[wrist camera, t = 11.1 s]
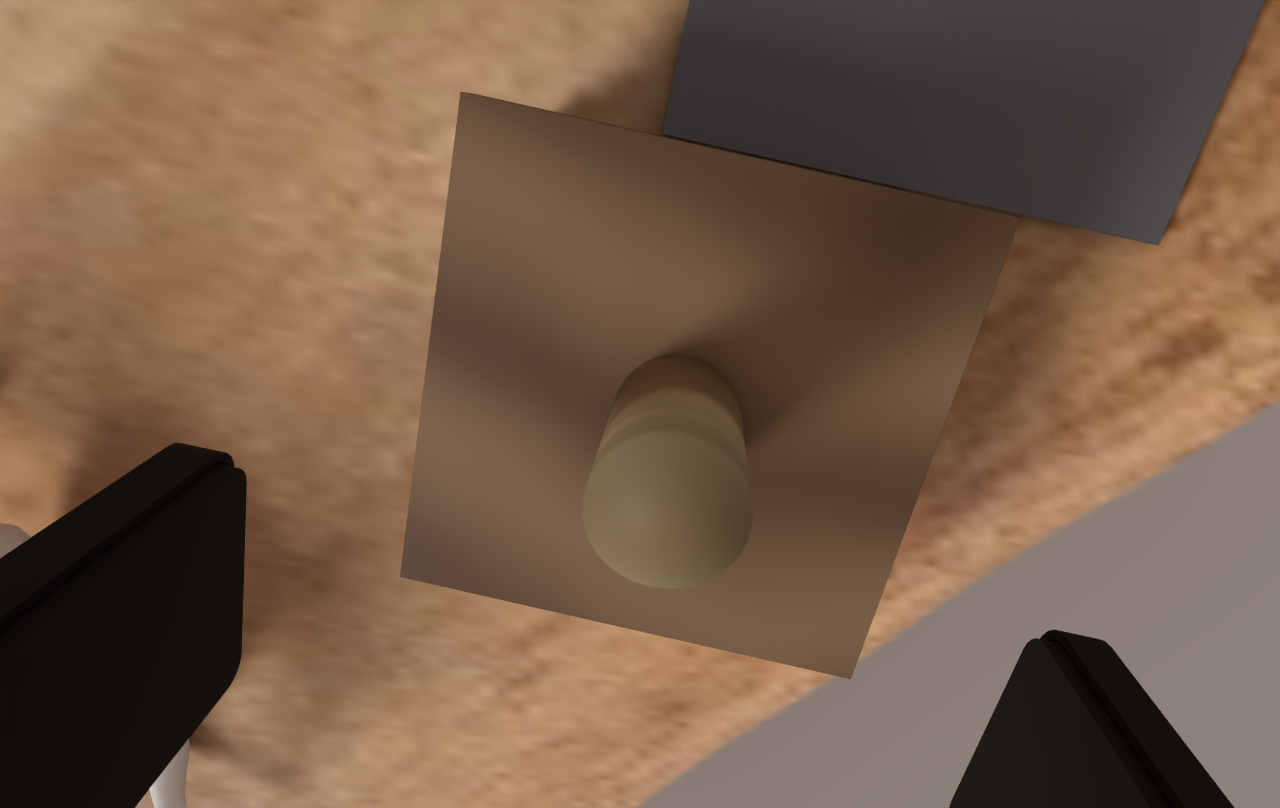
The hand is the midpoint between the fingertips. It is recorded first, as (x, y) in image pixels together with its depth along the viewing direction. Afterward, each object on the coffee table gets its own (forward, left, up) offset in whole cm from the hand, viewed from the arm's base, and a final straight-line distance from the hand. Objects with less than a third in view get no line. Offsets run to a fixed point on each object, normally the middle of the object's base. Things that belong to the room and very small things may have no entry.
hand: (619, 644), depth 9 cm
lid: (+1, 0, -11) cm, 11 cm away
